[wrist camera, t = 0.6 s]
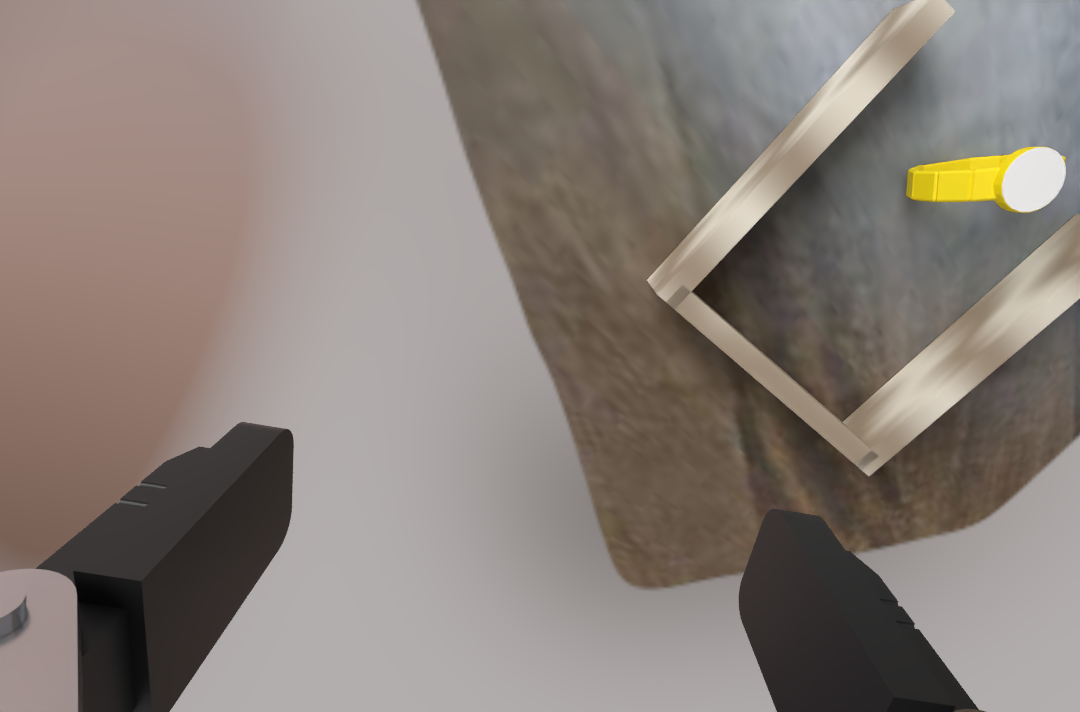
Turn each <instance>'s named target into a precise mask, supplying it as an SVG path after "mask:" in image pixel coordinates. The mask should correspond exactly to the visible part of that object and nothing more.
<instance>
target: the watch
mask: <svg viewBox="0 0 1080 712" xmlns="http://www.w3.org/2000/svg"><path fill="white" fill-rule="evenodd" d="M1065 160H1066V158H1065V157H1064V156H1061V155H1060V154H1059V153H1058V152H1057V151H1055V150H1053V149H1050V148H1048V147H1026V148H1023V149H1019V150H1017V151H1015V152H1014V153H1012V154H1010V155H1002V156H1000V155H999V156H987V157H975V158H968V159H961V160H955V161H948V162H941V163H934V164H928V165H918V166H916V167H913V168H911V169H909V170H908V176H907V191H906V196H907V197H909V198H911V199H913V200H917V201H928V202H968V201H971V202H974V201H988V200H995V202H996V203H997V204H998V205H999V206H1000V207H1001V208H1002V209H1005V210H1007V211H1010V212H1018V213H1030V212H1033V211H1036V210H1039V209H1041V208H1043V207H1044V206H1046V205H1048V204H1049V203H1050V202H1051V201H1052V200H1053V199H1054V198H1055V197H1056V196H1057V194H1058V193H1059V191H1060V189H1061V188H1062V186H1063V183H1064V179H1065V176H1066V166H1065Z"/></svg>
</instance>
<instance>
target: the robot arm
mask: <svg viewBox="0 0 1080 712" xmlns="http://www.w3.org/2000/svg"><path fill="white" fill-rule="evenodd" d="M293 446H294V445H293V436H292V433H291V431H290V430H288V429H282V428H277V427H271V426H264V425H258V424H252V423H246V422H241V423H239V424H237V425H236V426H235V427H234V428H232V429H231V430H230V431H229V432H228V433H227V434H226V435H225V436H224V437H222V438H221V439H220V440H219V441H218V442H217V443H216V444H215V445H214V446H212V447H211V448H205V447H198V448H195V449H193V450H191V451H188V452H186V453H184V454H182V455H179V456H177V457H175V458H173V459H170V460H168V461H166V462H164V463H163V464H162V465H161V466H160V467H158V468H157V469H156V470H155V471H154V472H152V473H151V474H150V475H149V476H147V477H146V478H145V479H144V480H143V481H142V482H141V485H140V486H135V487H134V488H133V489H132V490H130V491H129V492H128V493H127V494H126V495H125V496H123V497H122V498H121V499H120V503H119V504H117V503H115V504H114V505H112V506H111V507H110V508H109V509H107V510H106V511H105V512H104V513H103V514H101V515H100V516H99V517H98V518H96V519H95V520H94V521H93V522H92V523H90V524H89V525H88V526H87V527H86V528H84V529H83V530H82V531H81V532H79V533H78V534H77V535H76V536H75V537H73V538H72V539H71V540H70V541H69V542H67V543H66V544H65V545H64V546H62V547H61V548H60V549H59V550H58V551H56V553H54V554H53V555H52V556H50V557H49V558H48V559H47V560H46V561H44V562H43V563H42V564H41V565H39V566H38V567H37V568H36V569H19V570H10V571H4V572H0V712H169V711H170V710H171V708H172V707H173V706H174V704H175V703H176V701H177V700H178V698H179V697H180V695H181V693H182V692H183V691H184V689H185V688H186V686H187V685H188V683H189V682H190V680H191V679H192V678H193V676H194V675H195V673H196V672H197V670H198V669H199V667H200V666H201V664H202V663H203V661H204V660H205V658H206V657H207V655H208V654H209V652H210V651H211V649H212V648H213V646H214V645H215V643H216V642H217V640H218V639H219V638H220V636H221V634H222V633H223V632H224V630H225V629H226V627H227V626H228V624H229V623H230V621H231V620H232V618H233V617H234V615H235V614H236V612H237V611H238V609H239V608H240V606H241V605H242V603H243V602H244V600H245V599H246V597H247V596H248V595H249V593H250V592H251V590H252V589H253V587H254V586H255V584H256V583H257V581H258V580H259V578H260V577H261V575H262V574H263V572H264V571H265V569H266V568H267V566H268V565H269V563H270V562H271V560H272V559H273V558H274V556H275V554H276V553H277V552H278V550H279V548H280V547H281V545H282V543H283V541H284V538H285V536H286V533H287V530H288V527H289V523H290V518H291V512H292V482H293V481H292V479H293ZM739 610H740V616H741V620H742V623H743V625H744V628H745V631H746V633H747V636H748V638H749V641H750V644H751V646H752V648H753V651H754V654H755V656H756V659H757V662H758V664H759V667H760V669H761V672H762V674H763V677H764V680H765V682H766V685H767V687H768V690H769V692H770V695H771V697H772V700H773V703H774V705H775V708H776V710H777V712H984V711H981V710H979V709H978V708H977V707H976V705H975V704H974V703H973V701H972V700H971V699H970V697H969V696H968V695H967V693H966V692H965V691H964V689H963V688H962V687H961V685H960V684H959V683H958V681H957V680H956V679H955V677H954V676H953V675H952V673H951V672H950V670H949V669H948V668H947V667H946V665H945V664H944V662H943V661H942V660H941V658H940V657H939V656H938V655H937V653H936V652H935V650H934V649H933V648H932V646H931V645H930V644H929V642H928V641H927V640H926V638H925V637H924V636H923V634H922V633H921V632H920V630H919V629H915V628H914V622H913V621H912V620H911V618H910V617H909V615H908V614H907V613H906V611H905V610H904V609H903V608H902V607H900V606H898V601H897V599H896V598H895V597H894V595H893V594H892V593H891V591H890V590H889V589H888V587H887V586H886V585H885V583H884V582H883V581H882V579H881V578H880V577H879V575H877V574H876V573H875V572H874V571H873V570H872V569H870V568H869V567H868V566H867V565H865V564H864V563H863V562H862V561H861V560H859V559H858V558H857V557H856V556H855V555H854V554H852V553H851V552H850V551H845V549H844V548H843V546H842V545H841V544H840V542H839V541H838V539H837V538H836V536H835V535H834V534H833V532H832V531H831V529H830V528H829V527H828V525H827V524H826V522H825V521H824V520H823V519H822V518H821V517H819V516H816V515H810V514H804V513H798V512H791V511H785V510H779V509H772V510H770V511H769V512H768V513H767V514H766V516H765V518H764V520H763V522H762V525H761V528H760V531H759V533H758V536H757V539H756V542H755V544H754V547H753V550H752V553H751V556H750V558H749V561H748V564H747V567H746V569H745V572H744V575H743V578H742V581H741V585H740V591H739Z"/></svg>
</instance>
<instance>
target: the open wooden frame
mask: <svg viewBox="0 0 1080 712" xmlns="http://www.w3.org/2000/svg"><path fill="white" fill-rule="evenodd" d="M954 12H955V11H954V10H953V8H952V7H951V6H950V5H949V4H948V3H947V1H946V0H915V1H912V2H910V3H907V4H905V5H902V6H900V7H897V8H895V9H893V10H892V11H891V12H890V13H889V14H888V15H887V16H886V17H885V19H884V20H883V21H882V22H881V23H880V24H879V25H878V26H877V27H876V29H875V30H874V31H873V32H872V33H871V34H870V35H869V36H868V37H867V38H866V40H865V41H864V42H863V43H862V44H861V45H860V46H859V47H858V48H857V49H856V51H855V52H854V53H853V54H852V55H851V56H850V57H849V58H848V59H847V60H846V62H845V63H844V64H843V65H842V66H841V67H840V68H839V69H838V70H837V71H836V73H835V74H834V75H833V76H832V77H831V78H830V79H829V80H828V81H827V82H826V84H825V85H824V86H823V87H822V88H821V89H820V90H819V91H818V92H817V93H816V95H815V96H814V97H813V98H812V99H811V100H810V101H809V102H808V103H807V104H806V106H805V107H804V108H803V109H802V110H801V111H800V112H799V113H798V114H797V115H796V117H795V118H794V119H793V120H792V121H791V122H790V123H789V124H788V125H787V126H786V128H785V129H784V130H783V131H782V132H781V133H780V134H779V135H778V136H777V137H776V139H775V140H774V141H773V142H772V143H771V144H770V145H769V146H768V147H767V148H766V150H765V151H764V152H763V153H762V154H761V155H760V156H759V157H758V158H757V159H756V161H755V162H754V163H753V164H752V165H751V166H750V167H749V168H748V169H747V171H746V172H745V173H744V174H743V175H742V176H741V177H740V178H739V179H738V180H737V182H736V183H735V184H734V185H733V186H732V187H731V188H730V189H729V190H728V191H727V193H726V194H725V195H724V196H723V197H722V198H721V199H720V200H719V201H718V202H717V204H716V205H715V206H714V207H713V208H712V209H711V210H710V211H709V212H708V213H707V215H706V216H705V217H704V218H703V219H702V220H701V221H700V222H699V223H698V224H697V226H696V227H695V228H694V229H693V230H692V231H691V232H690V233H689V234H688V235H687V237H686V238H685V239H684V240H683V241H682V242H681V243H680V244H679V245H678V246H677V248H676V249H675V250H674V251H673V252H672V253H671V254H670V255H669V256H668V257H667V259H666V260H665V261H664V262H663V263H662V264H661V265H660V266H659V267H658V268H657V270H656V271H655V272H654V273H653V274H652V275H651V276H650V277H649V278H648V279H647V281H648V282H649V284H650V285H651V287H652V288H653V289H654V291H655V292H656V293H657V295H658V296H659V297H661V298H662V299H663V300H664V301H665V302H666V303H668V304H669V305H670V306H671V307H672V308H673V309H675V310H676V311H677V312H678V313H679V314H680V315H682V316H683V317H684V318H685V319H686V320H687V321H689V322H690V323H691V324H692V325H693V326H694V327H696V328H697V329H698V330H699V331H700V332H701V333H702V334H704V335H705V336H706V337H707V338H708V339H709V340H711V341H712V342H713V343H714V344H715V345H716V346H718V347H719V348H720V349H721V350H722V351H723V352H725V353H726V354H727V355H728V356H729V357H730V358H732V359H733V360H734V361H735V362H736V363H737V364H739V365H740V366H741V367H742V368H743V369H744V370H746V371H747V372H748V373H749V374H750V375H751V376H753V377H754V378H755V379H756V380H757V381H758V382H760V383H761V384H762V385H763V386H764V387H765V388H767V389H768V390H769V391H770V392H771V393H772V394H773V395H775V396H776V397H777V398H778V399H779V400H780V401H782V402H783V403H784V404H785V405H786V406H787V407H789V408H790V409H791V410H792V411H793V412H794V413H796V414H797V415H798V416H799V417H800V418H801V419H803V420H804V421H805V422H806V423H807V424H808V425H810V426H811V427H812V428H813V429H814V430H815V431H817V432H818V433H819V434H820V435H821V436H822V437H824V438H825V439H826V440H827V441H828V442H829V443H831V444H832V445H833V446H834V447H835V448H836V449H838V450H839V451H840V452H841V453H842V454H843V455H845V456H846V457H847V458H848V459H849V460H850V461H851V462H853V463H854V464H855V465H856V466H857V467H858V468H860V469H861V470H862V471H863V472H864V473H865V474H867V475H868V476H870V475H871V474H873V473H874V472H875V471H876V470H877V469H879V468H880V467H881V466H882V465H883V464H884V463H886V462H887V461H888V460H889V459H890V458H892V457H893V456H894V455H895V454H896V453H897V452H899V451H900V450H901V449H902V448H903V447H905V446H906V445H907V444H908V443H909V442H910V441H912V440H913V439H914V438H915V437H916V436H918V435H919V434H920V433H921V432H922V431H923V430H925V429H926V428H927V427H928V426H929V425H931V424H932V423H933V422H934V421H935V420H936V419H938V418H939V417H940V416H941V415H942V414H944V413H945V412H946V411H947V410H948V409H950V408H951V407H952V406H953V405H954V404H955V403H957V402H958V401H959V400H960V399H961V398H963V397H964V396H965V395H966V394H967V393H968V392H970V391H971V390H972V389H973V388H974V387H976V386H977V385H978V384H979V383H980V382H981V381H983V380H984V379H985V378H986V377H987V376H989V375H990V374H991V373H992V372H993V371H994V370H996V369H997V368H998V367H999V366H1000V365H1002V364H1003V363H1004V362H1005V361H1006V360H1007V359H1009V358H1010V357H1011V356H1012V355H1013V354H1015V353H1016V352H1017V351H1018V350H1019V349H1021V348H1022V347H1023V346H1024V345H1025V344H1026V343H1028V342H1029V341H1030V340H1031V339H1032V338H1034V337H1035V336H1036V335H1037V334H1038V333H1039V332H1041V331H1042V330H1043V329H1044V328H1045V327H1047V326H1048V325H1049V324H1050V323H1051V322H1052V321H1054V320H1055V319H1056V318H1057V317H1058V316H1060V315H1061V314H1062V313H1063V312H1064V311H1065V310H1067V309H1068V308H1069V307H1070V306H1071V305H1073V304H1074V303H1075V302H1076V301H1077V300H1078V299H1080V214H1076V215H1074V216H1073V217H1072V218H1071V219H1070V220H1069V221H1068V222H1067V223H1066V224H1064V225H1063V226H1062V227H1061V228H1060V229H1059V230H1058V231H1057V232H1055V233H1054V234H1053V235H1052V236H1051V237H1050V238H1049V239H1048V240H1046V241H1045V242H1044V243H1043V244H1042V245H1041V246H1040V247H1039V248H1037V249H1036V250H1035V251H1034V252H1033V253H1032V254H1031V255H1030V256H1028V257H1027V258H1026V259H1025V260H1024V261H1023V262H1022V263H1021V264H1019V265H1018V266H1017V267H1016V268H1015V269H1014V270H1013V271H1012V272H1010V273H1009V274H1008V275H1007V276H1006V277H1005V278H1004V279H1003V280H1001V281H1000V282H999V283H998V284H997V285H996V286H995V287H994V288H993V289H991V290H990V291H989V292H988V293H987V294H986V295H985V296H984V297H982V298H981V299H980V300H979V301H978V302H977V303H976V304H975V305H973V306H972V307H971V308H970V309H969V310H968V311H967V312H966V313H964V314H963V315H962V316H961V317H960V318H959V319H958V320H957V321H955V322H954V323H953V324H952V325H951V326H950V327H949V328H948V329H946V330H945V331H944V332H943V333H942V334H941V335H940V336H939V337H937V338H936V339H935V340H934V341H933V342H932V343H931V344H930V345H928V346H927V347H926V348H925V349H924V350H923V351H922V352H921V353H920V354H918V355H917V356H916V357H915V358H914V359H913V360H912V361H911V362H909V363H908V364H907V365H906V366H905V367H904V368H903V369H902V370H900V371H899V372H898V373H897V374H896V375H895V376H894V377H893V378H891V379H890V380H889V381H888V382H887V383H886V384H885V385H884V386H882V387H881V388H880V389H879V390H878V391H877V392H876V393H875V394H873V395H872V396H871V397H870V398H869V399H868V400H867V401H866V402H864V403H863V404H862V405H861V406H860V407H859V408H858V409H857V410H856V411H854V412H853V413H852V414H851V415H850V416H849V417H848V418H847V419H845V420H844V421H843V422H842V421H840V420H839V419H838V418H837V417H836V416H835V415H834V414H832V413H831V412H830V411H829V410H828V409H827V408H826V407H824V406H823V405H822V404H821V403H820V402H819V401H818V400H816V399H815V398H814V397H813V396H812V395H811V394H810V393H808V392H807V391H806V390H805V389H804V388H803V387H802V386H800V385H799V384H798V383H797V382H796V381H795V380H794V379H792V378H791V377H790V376H789V375H788V374H787V373H786V372H784V371H783V370H782V369H781V368H780V367H779V366H778V365H777V364H775V363H774V362H773V361H772V360H771V359H770V358H769V357H767V356H766V355H765V354H764V353H763V352H762V351H761V350H759V349H758V348H757V347H756V346H755V345H754V344H753V343H751V342H750V341H749V340H748V339H747V338H746V337H745V336H743V335H742V334H741V333H740V332H739V331H738V330H737V329H735V328H734V327H733V326H732V325H731V324H730V323H729V322H727V321H726V320H725V319H724V318H723V317H722V316H721V315H719V314H718V313H717V312H716V311H715V310H714V309H713V308H711V307H710V306H709V305H708V304H707V303H706V302H705V301H703V300H702V299H701V298H700V297H699V296H698V295H697V294H695V293H694V292H693V291H692V290H693V289H694V288H695V287H696V286H697V285H698V284H699V283H700V282H701V281H702V280H703V279H704V278H705V277H706V276H707V275H708V273H709V272H710V271H711V270H712V269H713V268H714V267H715V266H716V265H717V264H718V263H719V262H720V261H721V260H722V259H723V258H724V257H725V255H726V254H727V253H728V252H729V251H730V250H731V249H732V248H733V247H734V246H735V245H736V244H737V243H738V242H739V241H740V240H741V238H742V237H743V236H744V235H745V234H746V233H747V232H748V231H749V230H750V229H751V228H752V227H753V226H754V225H755V224H756V223H757V221H758V220H759V219H760V218H761V217H762V216H763V215H764V214H765V213H766V212H767V211H768V210H769V209H770V208H771V207H772V206H773V204H774V203H775V202H776V201H777V200H778V199H779V198H780V197H781V196H782V195H783V194H784V193H785V192H786V191H787V190H788V189H789V187H790V186H791V185H792V184H793V183H794V182H795V181H796V180H797V179H798V178H799V177H800V176H801V175H802V174H803V173H804V172H805V171H806V169H807V168H808V167H809V166H810V165H811V164H812V163H813V162H814V161H815V160H816V159H817V158H818V157H819V156H820V155H821V154H822V152H823V151H824V150H825V149H826V148H827V147H828V146H829V145H830V144H831V143H832V142H833V141H834V140H835V139H836V138H837V137H838V135H839V134H840V133H841V132H842V131H843V130H844V129H845V128H846V127H847V126H848V125H849V124H850V123H851V122H852V121H853V120H854V118H855V117H856V116H857V115H858V114H859V113H860V112H861V111H862V110H863V109H864V108H865V107H866V106H867V105H868V104H869V103H870V101H871V100H872V99H873V98H874V97H875V96H876V95H877V94H878V93H879V92H880V91H881V90H882V89H883V88H884V87H885V86H886V85H887V83H888V82H889V81H890V80H891V79H892V78H893V77H894V76H895V75H896V74H897V73H898V72H899V71H900V70H901V69H902V68H903V66H904V65H905V64H906V63H907V62H908V61H909V60H910V59H911V58H912V57H913V56H914V55H915V54H916V53H917V52H918V51H919V49H920V48H921V47H922V46H923V45H924V44H925V43H926V42H927V41H928V40H929V39H930V38H931V37H932V36H933V35H934V34H935V32H936V31H937V30H938V29H939V28H940V27H941V26H942V25H943V24H944V23H945V22H946V21H947V20H948V19H949V18H950V17H951V15H952V14H953V13H954Z"/></svg>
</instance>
